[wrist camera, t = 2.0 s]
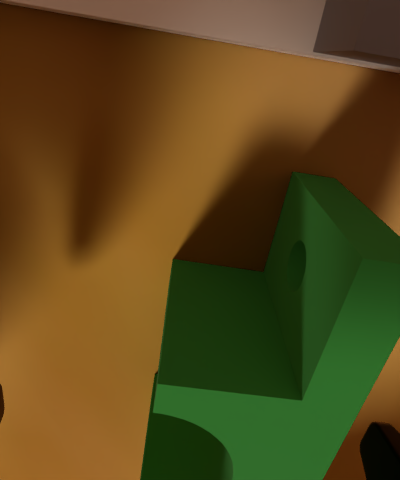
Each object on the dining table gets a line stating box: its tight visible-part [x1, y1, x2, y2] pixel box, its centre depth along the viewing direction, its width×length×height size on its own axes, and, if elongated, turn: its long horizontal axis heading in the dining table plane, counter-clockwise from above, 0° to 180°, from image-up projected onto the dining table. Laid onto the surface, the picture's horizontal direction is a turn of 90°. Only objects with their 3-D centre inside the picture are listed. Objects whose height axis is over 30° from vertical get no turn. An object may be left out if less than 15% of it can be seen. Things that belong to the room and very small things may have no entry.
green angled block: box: [140, 172, 400, 480], centre depth 10 cm, size 11×4×5 cm, turn 170°
